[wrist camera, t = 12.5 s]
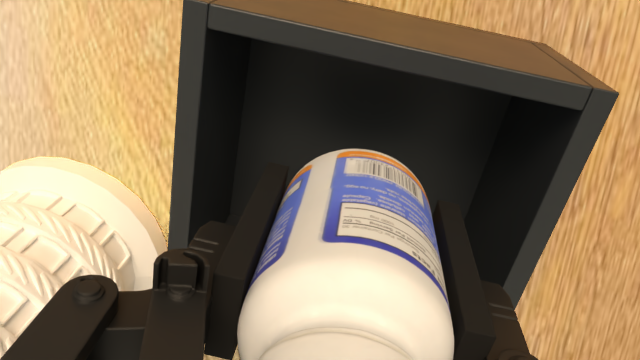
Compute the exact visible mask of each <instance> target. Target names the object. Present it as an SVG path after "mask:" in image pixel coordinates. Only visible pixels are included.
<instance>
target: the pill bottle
mask: <svg viewBox="0 0 640 360" xmlns="http://www.w3.org/2000/svg"><path fill="white" fill-rule="evenodd" d="M237 340H238V351H239V355H240V359H241V360H453V356H454V333H453V326H452V319H451V314H450V308H449V302H448V298H447V292H446V287H445V281H444V276H443V271H442V265H441V260H440V255H439V251H438V246H437V240H436V235H435V230H434V225H433V220H432V214H431V209H430V205H429V201H428V199H427V196H426V193H425V191H424V189H423V187H422V185H421V183H420V182H419V180H418V179H417V178H416V176H415V175H414V174H413V173H412V172H411V171H410V170H409V169H408V168H407V167H406V166H405V165H403V164H402V163H401V162H399V161H398V160H396V159H394V158H392V157H390V156H388V155H386V154H383V153H380V152H376V151H372V150H366V149H343V150H338V151H333V152H329V153H327V154H324V155H321V156H319V157H317V158H315V159H313V160H312V161H310V162H309V163H307V164H306V165H305V166H304V167H303V168H302V169H300V170H299V172H298V173H297V174H296V175H295V176H294V178H293V179H292V181H291V182H290V184H289V186H288V187H287V189H286V191H285V193H284V196H283V198H282V201H281V203H280V206H279V209H278V211H277V214H276V217H275V220H274V222H273V225H272V227H271V230H270V233H269V235H268V238H267V241H266V243H265V246H264V248H263V251H262V254H261V256H260V259H259V262H258V264H257V267H256V270H255V272H254V275H253V278H252V280H251V283H250V286H249V288H248V291H247V294H246V296H245V299H244V302H243V306H242V309H241V312H240V316H239V321H238V328H237Z"/></svg>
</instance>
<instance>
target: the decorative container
mask: <svg viewBox="0 0 640 360" xmlns="http://www.w3.org/2000/svg"><path fill="white" fill-rule="evenodd" d="M165 251H167V245H166V240H165V238H164V236H163V234H162V231H161V229H160V227H159V225H158V223H157V221H156V218H155V217H154V216H153V215H152V213H151V212H150V211H149V210H148V208H147V207H146V206H145V204H144V203H143V202H142V201H141V199H140V198H139V197H138V196H137V195H136V194H134V193H133V192H132V191H131V190H130V189H128V188H127V187H126V186H125V185H124V184H122V183H121V182H120V181H119V180H118V179H116V178H114V177H112V176H110V175H109V174H107V173H105V172H103V171H101V170H99V169H97V168H95V167H94V166H92V165H88V164H85V163H81V162H78V161H74V160H71V159H68V158H59V157H35V158H31V159H26V160H22V161H18V162H15V163H13V164H12V165H10V166H8V167H7V168H5V169H4V170H2V171H0V359H1V357H2V356H3V355H4V354H5V353H6V351H7V350H8V349H9V348H10V347H11V346H12V344H13V343H14V342H15V341H16V340H17V338H18V337H19V336H20V335H21V334H22V333H23V331H24V330H25V329H26V328H27V327H28V325H29V324H30V323H31V322H32V321H33V320H34V318H35V317H36V316H37V315H38V314H39V312H40V311H41V310H42V309H43V308H44V307H45V305H46V304H47V303H48V302H49V301H50V299H51V298H52V297H53V296H54V295H55V294H56V292H57V291H58V290H59V289H60V288H61V287H62V286H63V285H64V284H65V283H66V282H68V281H69V280H71V279H74V278H76V277H79V276H84V275H90V274H92V275H102V276H105V277H108V278H111V279H112V280H113V281H114V282H115V283H116V284H117V287H118V291H141V290H147V289H151V288H152V287H153V266H154V262H155V260H156V258H157V257H158V256H159V255H160V254H162V253H163V252H165Z"/></svg>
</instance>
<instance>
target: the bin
mask: <svg viewBox="0 0 640 360" xmlns="http://www.w3.org/2000/svg"><path fill="white" fill-rule="evenodd" d="M618 95H619V93H618V92H616V91H615V90H614V89H612V88H611V87H609V86H608V85H606V84H605V83H603V82H602V81H600V80H599V79H597V78H596V77H594V76H593V75H591V74H590V73H588V72H587V71H585V70H584V69H582V68H581V67H579V66H578V65H576V64H575V63H573V62H572V61H570V60H569V59H567V58H566V57H564V56H563V55H561V54H560V53H558V52H557V51H555V50H554V49H552V48H551V47H549V46H547V45H546V44H543V43H538V42H534V41H529V40H525V39H520V38H515V37H511V36H506V35H502V34H497V33H493V32H488V31H483V30H479V29H474V28H470V27H465V26H461V25H456V24H451V23H447V22H442V21H438V20H433V19H429V18H424V17H419V16H415V15H410V14H406V13H401V12H397V11H392V10H387V9H383V8H378V7H374V6H369V5H365V4H360V3H355V2H351V1H346V0H183V14H182V30H181V46H180V62H179V78H178V94H177V110H176V126H175V142H174V158H173V174H172V190H171V206H170V222H169V238H168V251H169V250H172V249H181V248H185V249H187V248H188V246H189V244H190V243H191V241H192V240H193V238H194V236H195V234H196V233H197V231H198V230H199V228H200V227H202V226H203V225H205V224H207V223H208V222H210V221H211V220H212V221H216V222H221V223H225V224H230V225H234V226H237V224H238V222H239V220H240V218H241V216H242V214H243V212H244V210H245V208H246V206H247V204H248V202H249V200H250V198H251V196H252V194H253V192H254V190H255V188H256V186H257V184H258V182H259V180H260V178H261V176H262V174H263V172H264V170H265V168H266V166H267V164H268V162H272V163H276V164H281V165H285V166H289V170H288V176H287V181H286V187H285V191H286V189H287V187H288V186H289V184H290V182H291V181H292V179H293V178H294V176H295V175H296V174H297V173H298V172H299V170H300V169H302V168H303V167H304V166H305V165H306V164H307V163H309V162H310V161H312V160H313V159H315V158H317V157H319V156H321V155H324V154H327V153H329V152H333V151H338V150H343V149H366V150H372V151H376V152H380V153H383V154H386V155H388V156H390V157H392V158H394V159H396V160H398V161H399V162H401V163H402V164H403V165H405V166H406V167H407V168H408V169H409V170H410V171H411V172H412V173H413V174H414V175H415V176H416V178H417V179H418V180H419V182H420V183H421V185H422V187H423V189H424V191H425V193H426V196H427V199H428V201H429V205H430V209H431V214H432V216H433V213H434V210H435V207H436V204H437V201H438V200H442V201H446V202H451V203H455V204H459V207H460V210H461V214H462V217H463V221H464V224H465V228H466V231H467V235H468V238H469V242H470V245H471V249H472V252H473V256H474V259H475V263H476V266H477V270H478V273H479V277H480V280H483V281H487V282H492V283H496V284H500V286H501V287H502V288H503V289H504V290H505V292H506V293H507V294H508V295H509V296H510V299H511V302H512V304H513V307H514V310H515V308H516V306H517V304H518V302H519V300H520V297H521V295H522V293H523V291H524V289H525V287H526V285H527V283H528V281H529V279H530V277H531V275H532V273H533V271H534V269H535V267H536V264H537V262H538V260H539V258H540V256H541V254H542V252H543V250H544V248H545V246H546V244H547V242H548V240H549V238H550V236H551V233H552V231H553V229H554V227H555V225H556V223H557V221H558V219H559V217H560V215H561V213H562V211H563V209H564V207H565V205H566V203H567V200H568V198H569V196H570V194H571V192H572V190H573V188H574V186H575V184H576V182H577V180H578V178H579V176H580V174H581V172H582V170H583V167H584V165H585V163H586V161H587V159H588V157H589V155H590V153H591V151H592V149H593V147H594V145H595V143H596V141H597V139H598V136H599V134H600V132H601V130H602V128H603V126H604V124H605V122H606V120H607V118H608V116H609V114H610V112H611V110H612V108H613V106H614V103H615V101H616V99H617V97H618ZM284 193H285V192H284Z"/></svg>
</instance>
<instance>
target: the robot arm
mask: <svg viewBox="0 0 640 360" xmlns="http://www.w3.org/2000/svg"><path fill="white" fill-rule="evenodd" d="M288 170H289V166H285V165H281V164H276V163H272V162H268V164H267V166H266V168H265V170H264V172H263V174H262V176H261V178H260V180H259V182H258V184H257V186H256V188H255V190H254V192H253V194H252V196H251V198H250V200H249V202H248V204H247V206H246V208H245V210H244V212H243V214H242V216H241V218H240V220H239V222H238V224H237V226H234V225H230V224H225V223H221V222H216V221H212V220H211V221H210V222H208V223H207V224H205V225H203V226H202V227H200V228H199V230H198V231H197V233H196V234H195V236H194V238H193V240H192V241H191V243H190V244H189V246H188V248H187V249H185V248H181V249H172V250H169V251H165V252H163V253H162V254H160V255H159V256H158V257H157V258H156V260H155V262H154V266H153V287H152V288H151V289H147V290H141V291H118V287H117V284H116V283H115V282H114V281H113V280H112V279H111V278H108V277H105V276H102V275H92V274H90V275H84V276H79V277H76V278H74V279H71V280H69V281H68V282H66V283H65V284H64V285H63V286H62V287H61V288H60V289H59V290H58V291H57V292H56V294H55V295H54V296H53V297H52V298H51V299H50V301H49V302H48V303H47V304H46V305H45V307H44V308H43V309H42V310H41V311H40V312H39V314H38V315H37V316H36V317H35V318H34V320H33V321H32V322H31V323H30V324H29V325H28V327H27V328H26V329H25V330H24V331H23V333H22V334H21V335H20V336H19V337H18V338H17V340H16V341H15V342H14V343H13V344H12V346H11V347H10V348H9V349H8V350H7V351H6V353H5V354H4V355H3V356H2V357H1V359H0V360H203V356H204V354H206V355H211V356H215V357H219V358H224V359H228V360H232V358H233V355H234V353H235V350H236V347H237V344H238V340H237V328H238V321H239V316H240V312H241V309H242V306H243V302H244V299H245V296H246V294H247V291H248V288H249V286H250V283H251V280H252V278H253V275H254V272H255V270H256V267H257V264H258V262H259V259H260V256H261V254H262V251H263V248H264V246H265V243H266V241H267V238H268V235H269V233H270V230H271V227H272V225H273V222H274V220H275V217H276V214H277V211H278V209H279V206H280V203H281V201H282V198H283V196H284V192H285V187H286V181H287V176H288ZM432 220H433V225H434V230H435V235H436V240H437V246H438V251H439V255H440V260H441V265H442V271H443V276H444V281H445V287H446V292H447V298H448V302H449V308H450V314H451V319H452V326H453V333H454V356H453V360H538V359H537V358H536V357H534V356H532V355H531V354H530V353H529V350H528V347H527V344H526V341H525V338H524V336H523V333H522V330H521V327H520V324H519V321H517V316H516V313H515V311H514V307H513V304H512V302H511V299H510V296H509V295H508V294H507V293H506V292H505V290H504V289H503V288H502V287H501V286H500V284H496V283H492V282H487V281H483V280H480V277H479V273H478V270H477V266H476V263H475V259H474V256H473V252H472V249H471V245H470V242H469V238H468V235H467V231H466V228H465V224H464V221H463V217H462V214H461V210H460V207H459V204H455V203H451V202H446V201H442V200H438V201H437V204H436V207H435V210H434V213H433V216H432ZM204 344H205V349H204Z"/></svg>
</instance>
